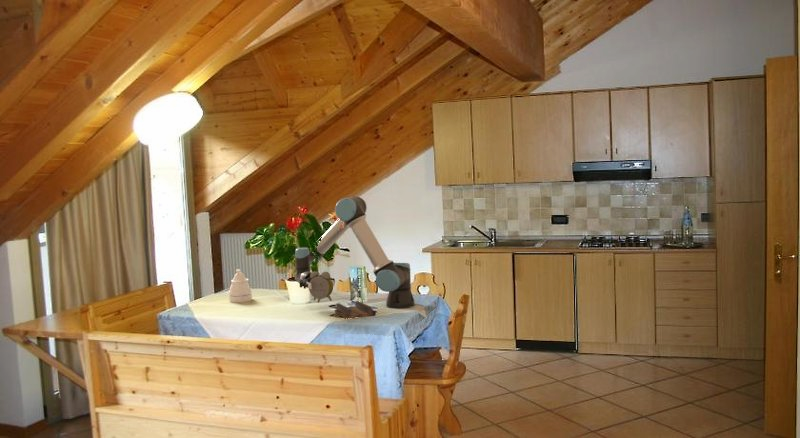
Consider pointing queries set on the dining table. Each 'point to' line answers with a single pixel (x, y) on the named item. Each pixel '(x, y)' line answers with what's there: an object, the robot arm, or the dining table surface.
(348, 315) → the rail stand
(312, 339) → the dining table surface
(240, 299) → the honey pot
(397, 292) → the robot arm
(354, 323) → the dining table surface
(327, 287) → the alarm clock
